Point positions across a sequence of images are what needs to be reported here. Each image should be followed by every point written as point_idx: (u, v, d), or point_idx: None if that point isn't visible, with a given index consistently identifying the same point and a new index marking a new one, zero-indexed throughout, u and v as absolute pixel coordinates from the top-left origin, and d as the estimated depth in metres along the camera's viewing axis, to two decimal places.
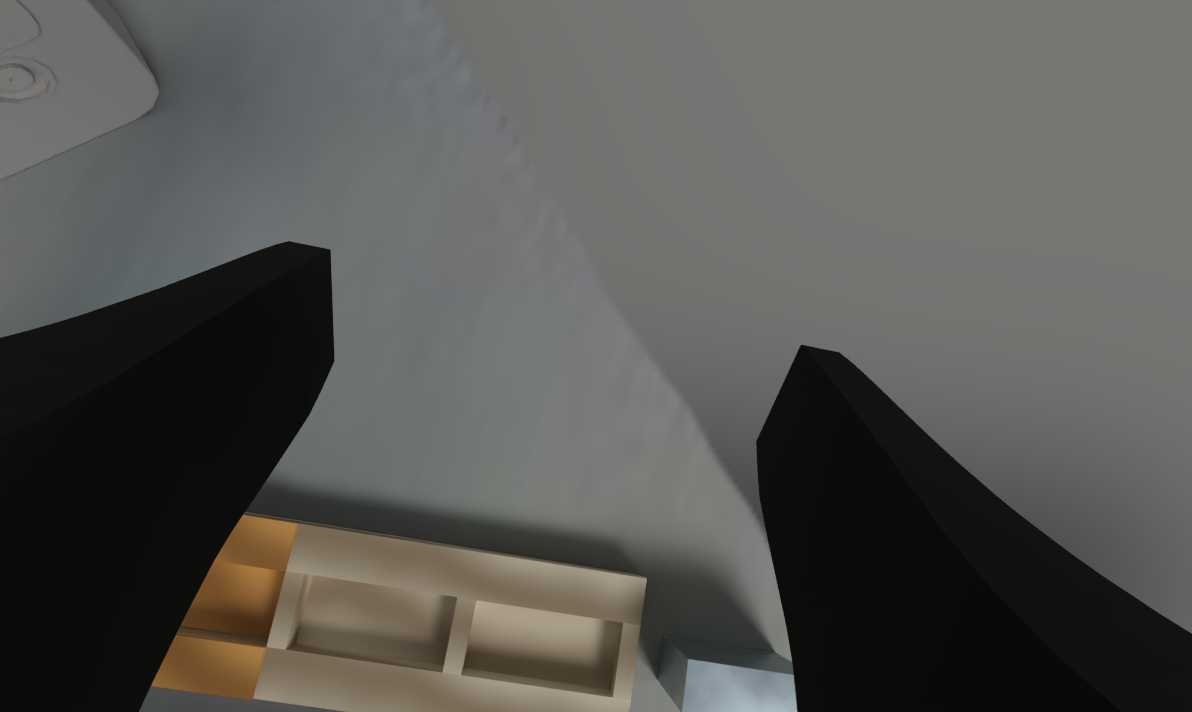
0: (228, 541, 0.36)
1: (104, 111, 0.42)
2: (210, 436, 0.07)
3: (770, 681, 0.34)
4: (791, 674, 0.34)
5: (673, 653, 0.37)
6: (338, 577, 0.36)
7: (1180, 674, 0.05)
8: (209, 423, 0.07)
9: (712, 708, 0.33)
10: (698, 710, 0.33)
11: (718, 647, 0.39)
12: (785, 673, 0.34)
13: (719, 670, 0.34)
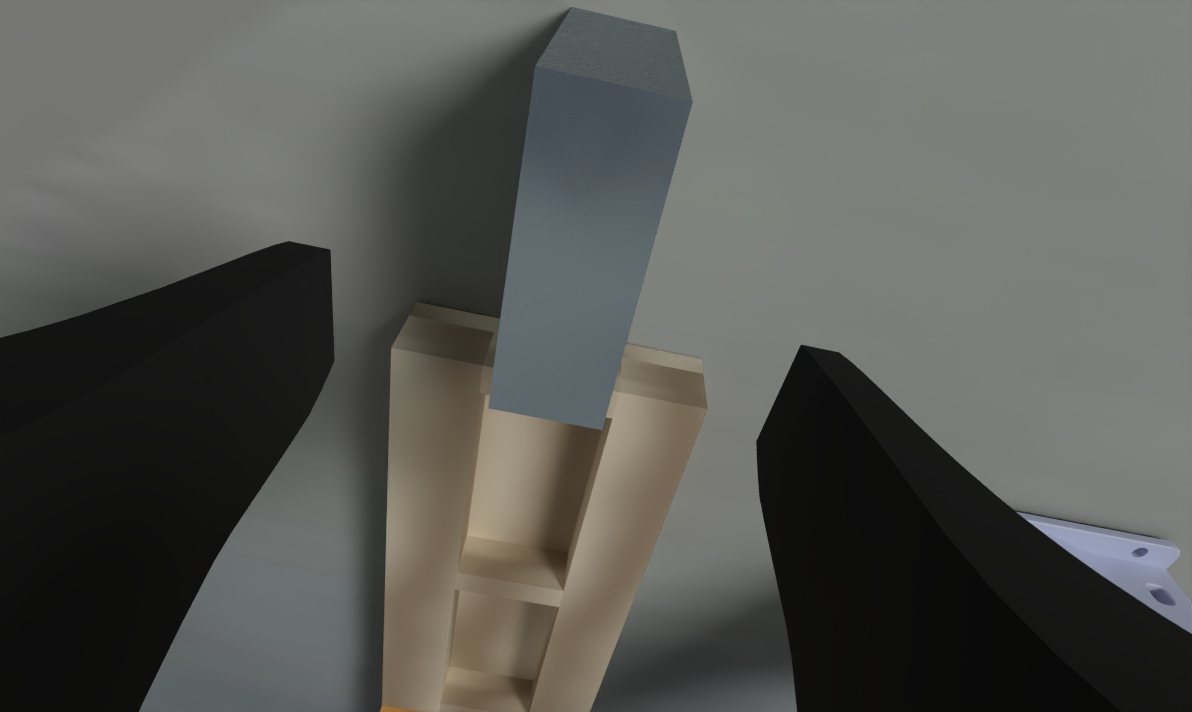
0: None
1: None
2: (210, 436, 0.07)
3: (539, 228, 0.12)
4: (523, 158, 0.11)
5: None
6: (441, 681, 0.28)
7: (1180, 674, 0.05)
8: (209, 423, 0.07)
9: (598, 372, 0.13)
10: (600, 398, 0.14)
11: None
12: None
13: (511, 348, 0.13)
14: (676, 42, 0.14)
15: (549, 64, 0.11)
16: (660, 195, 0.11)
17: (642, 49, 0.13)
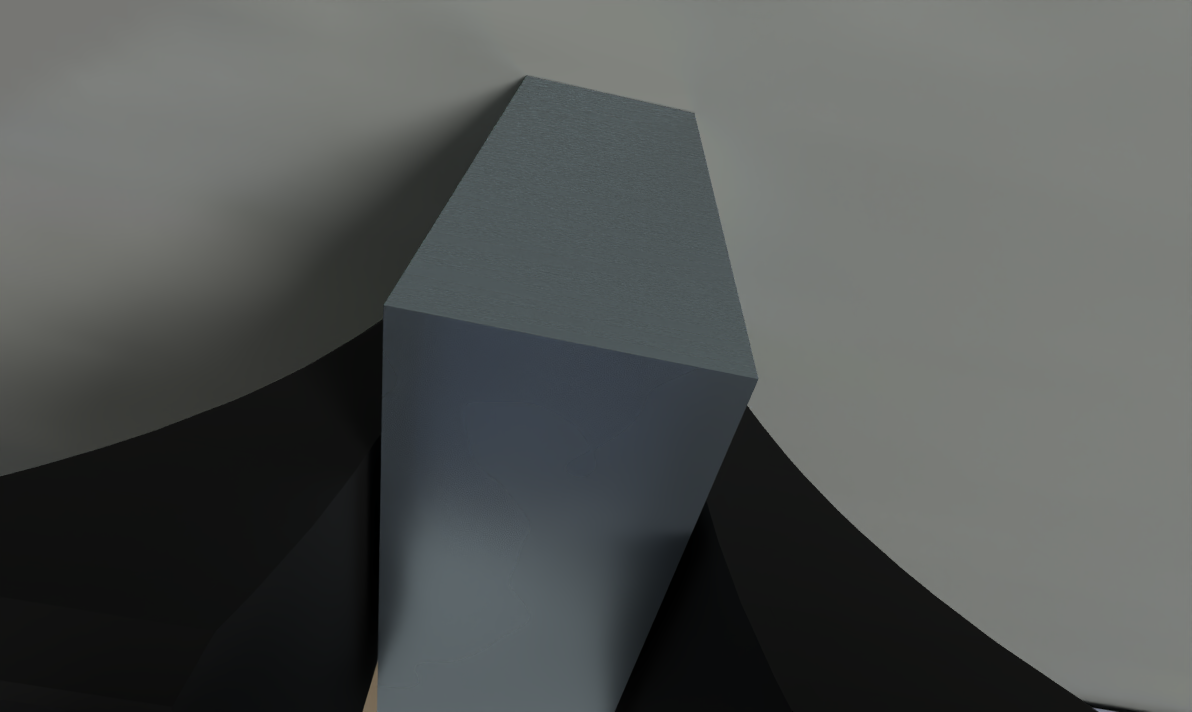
0: None
1: None
2: None
3: (432, 571, 0.06)
4: (388, 459, 0.05)
5: None
6: None
7: (874, 621, 0.05)
8: None
9: None
10: None
11: None
12: None
13: None
14: (698, 145, 0.08)
15: (427, 284, 0.05)
16: (679, 530, 0.05)
17: (640, 179, 0.07)
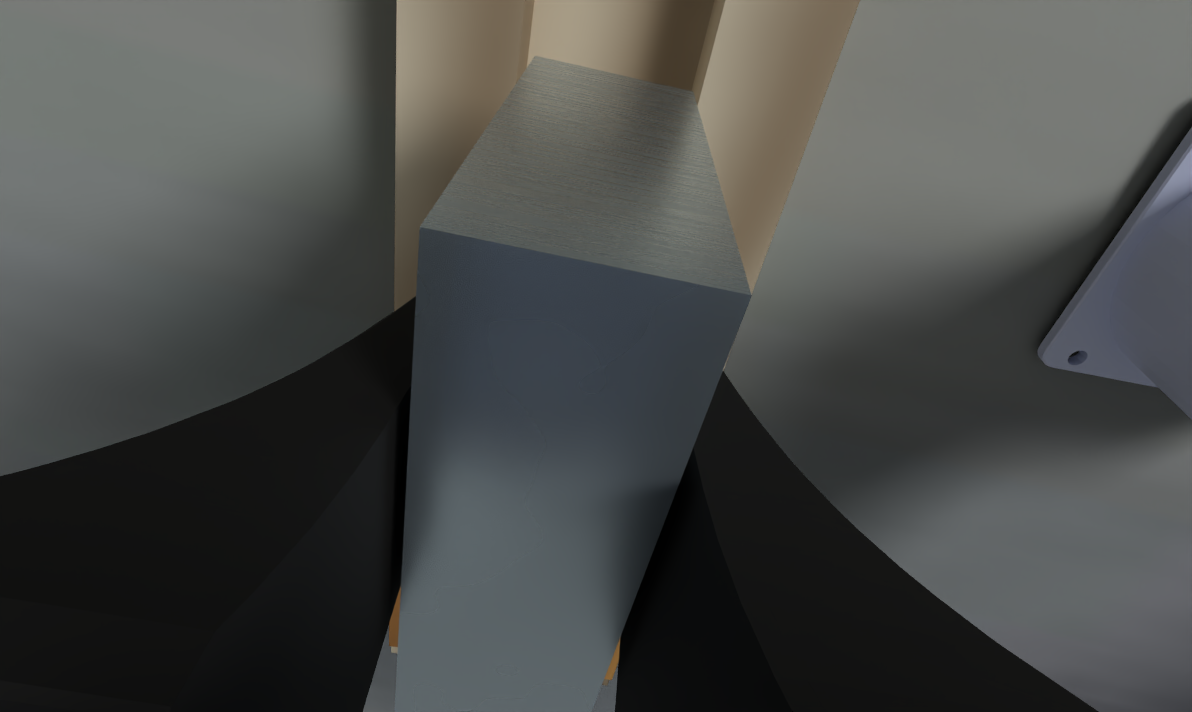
0: None
1: None
2: None
3: (454, 490, 0.06)
4: None
5: None
6: None
7: (874, 621, 0.05)
8: None
9: (571, 676, 0.08)
10: (576, 705, 0.08)
11: None
12: None
13: (424, 644, 0.08)
14: (697, 117, 0.09)
15: (456, 214, 0.05)
16: (681, 446, 0.06)
17: (644, 142, 0.08)
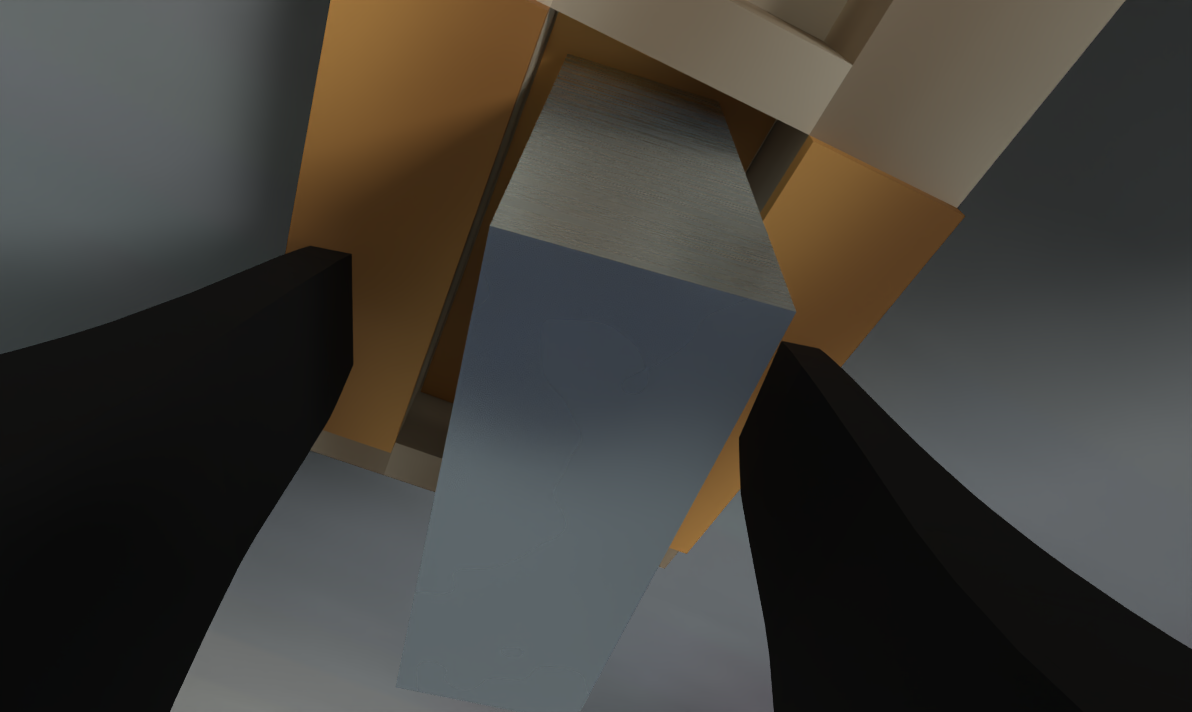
0: (400, 201, 0.10)
1: None
2: (237, 441, 0.07)
3: (487, 477, 0.07)
4: None
5: None
6: None
7: (1141, 668, 0.05)
8: (237, 430, 0.07)
9: (574, 661, 0.08)
10: (575, 688, 0.09)
11: None
12: None
13: (435, 623, 0.08)
14: (725, 129, 0.09)
15: (520, 214, 0.05)
16: (710, 448, 0.06)
17: (680, 151, 0.08)
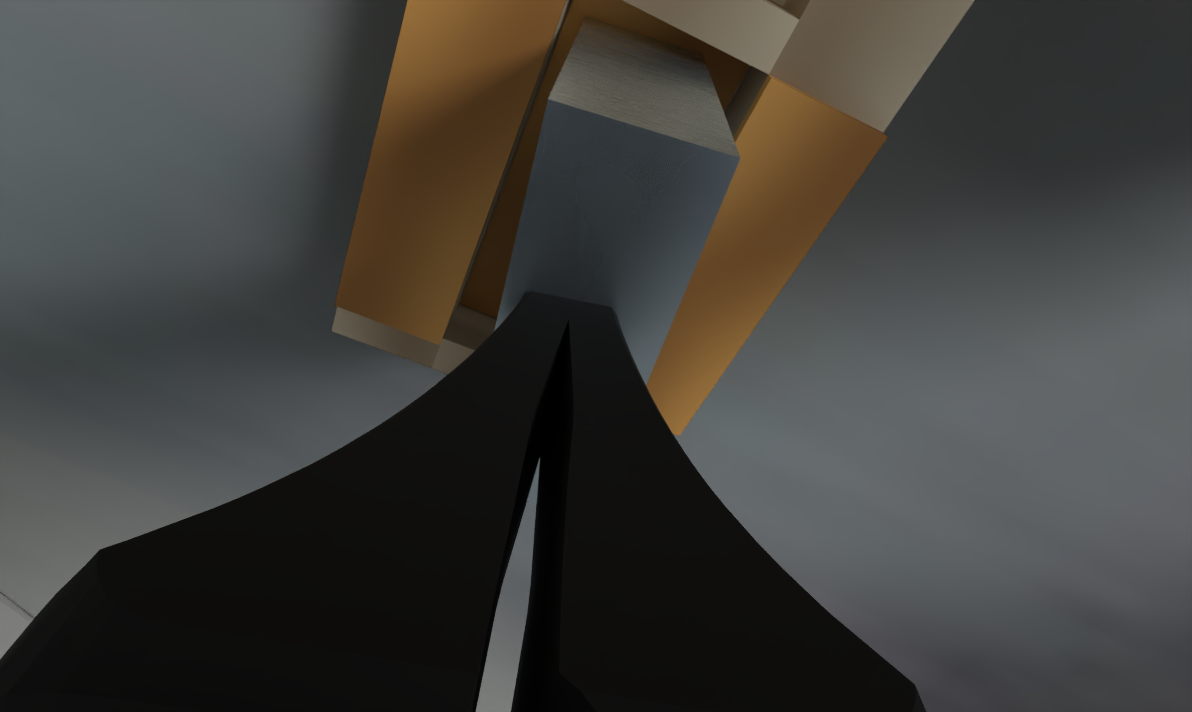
0: (458, 127, 0.13)
1: None
2: (520, 492, 0.08)
3: (536, 291, 0.10)
4: (524, 208, 0.09)
5: None
6: None
7: (701, 590, 0.04)
8: (523, 480, 0.08)
9: None
10: None
11: None
12: (519, 228, 0.09)
13: None
14: (706, 70, 0.12)
15: (564, 97, 0.08)
16: (688, 264, 0.09)
17: (670, 78, 0.11)
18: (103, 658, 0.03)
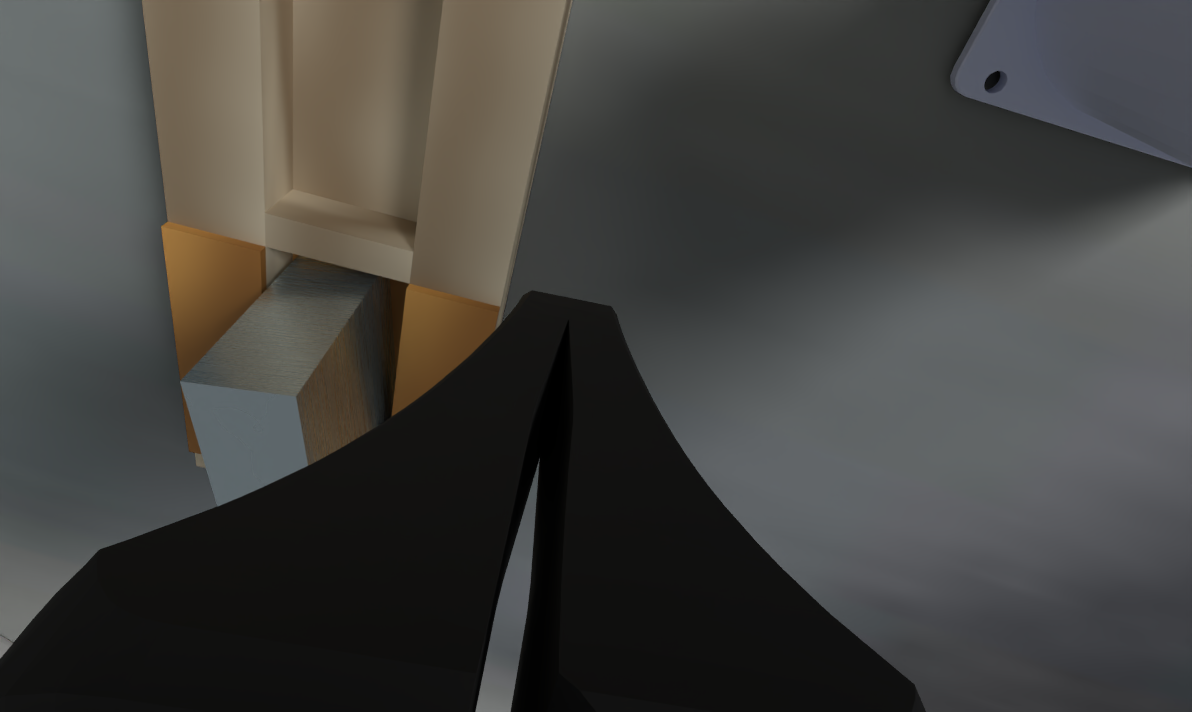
0: None
1: None
2: (519, 492, 0.08)
3: (225, 471, 0.16)
4: None
5: None
6: (260, 144, 0.16)
7: (701, 591, 0.04)
8: (522, 481, 0.08)
9: None
10: None
11: None
12: None
13: None
14: (369, 286, 0.18)
15: (198, 372, 0.15)
16: (301, 449, 0.15)
17: (318, 313, 0.17)
18: (101, 659, 0.03)
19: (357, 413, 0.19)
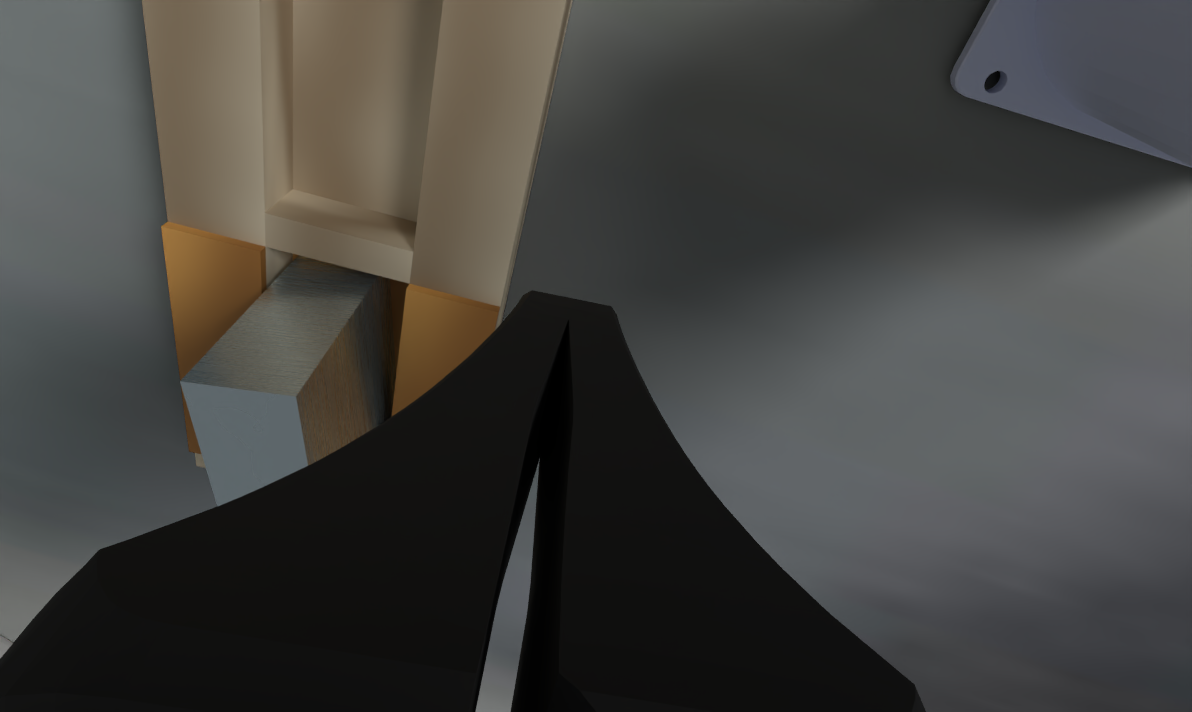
0: None
1: None
2: (519, 492, 0.08)
3: (225, 471, 0.16)
4: None
5: None
6: (260, 144, 0.16)
7: (701, 591, 0.04)
8: (522, 481, 0.08)
9: None
10: None
11: None
12: None
13: None
14: (369, 286, 0.18)
15: (198, 372, 0.15)
16: (301, 449, 0.15)
17: (318, 313, 0.17)
18: (101, 659, 0.03)
19: (357, 413, 0.19)
